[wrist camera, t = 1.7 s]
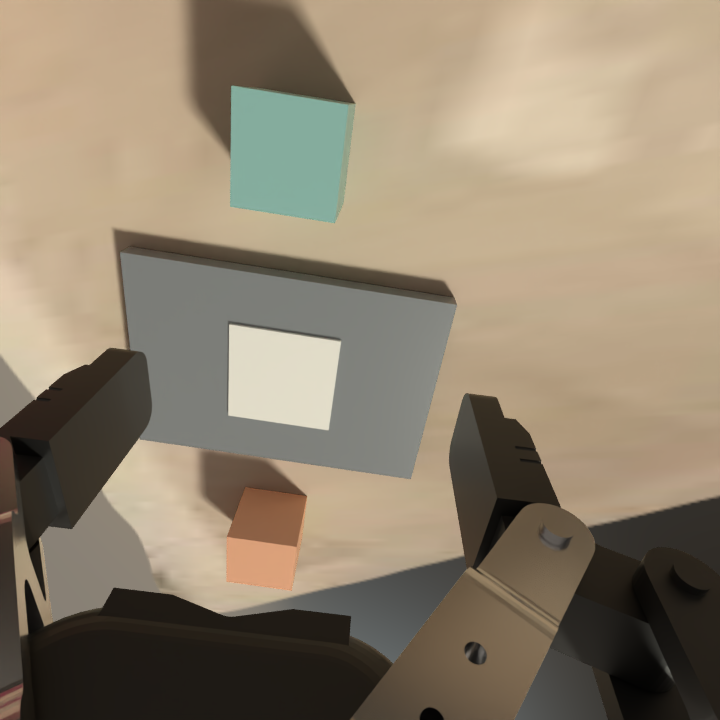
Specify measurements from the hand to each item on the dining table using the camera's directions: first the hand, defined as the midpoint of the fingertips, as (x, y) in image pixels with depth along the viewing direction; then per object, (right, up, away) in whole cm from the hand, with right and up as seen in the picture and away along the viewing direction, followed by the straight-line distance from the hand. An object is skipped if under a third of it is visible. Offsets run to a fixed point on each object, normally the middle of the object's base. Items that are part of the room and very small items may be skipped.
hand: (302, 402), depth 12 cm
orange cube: (-6, -12, +27) cm, 30 cm away
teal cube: (-2, +13, +14) cm, 19 cm away
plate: (-4, 0, +20) cm, 21 cm away
